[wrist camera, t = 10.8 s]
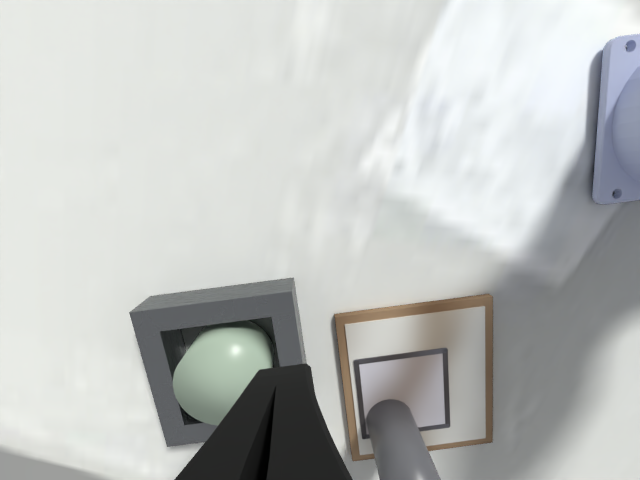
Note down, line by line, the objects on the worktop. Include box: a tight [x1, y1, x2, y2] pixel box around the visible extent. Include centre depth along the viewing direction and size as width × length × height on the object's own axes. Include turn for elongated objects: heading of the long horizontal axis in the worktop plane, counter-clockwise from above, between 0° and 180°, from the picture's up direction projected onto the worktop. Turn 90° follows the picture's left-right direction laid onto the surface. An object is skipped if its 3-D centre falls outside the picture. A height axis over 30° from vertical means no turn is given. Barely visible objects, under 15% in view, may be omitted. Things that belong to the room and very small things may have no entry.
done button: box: [173, 320, 274, 426], centre depth 16 cm, size 5×5×3 cm
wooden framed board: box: [334, 294, 493, 461], centre depth 18 cm, size 9×10×1 cm
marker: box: [366, 399, 441, 480], centre depth 15 cm, size 3×3×6 cm
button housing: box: [129, 278, 307, 447], centre depth 17 cm, size 8×8×2 cm
